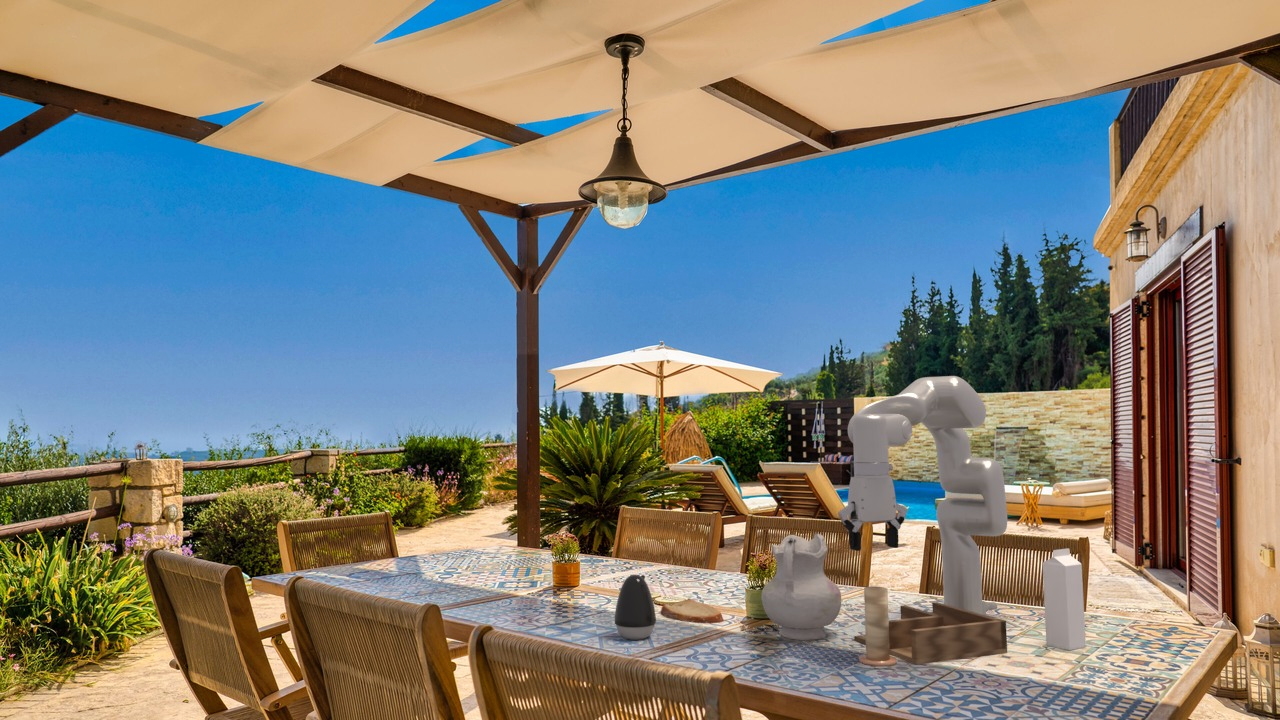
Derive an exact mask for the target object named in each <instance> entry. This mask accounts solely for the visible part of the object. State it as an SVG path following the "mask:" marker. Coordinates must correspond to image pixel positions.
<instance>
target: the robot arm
mask: <svg viewBox="0 0 1280 720" xmlns="http://www.w3.org/2000/svg"><path fill="white" fill-rule="evenodd" d="M985 405H986V404H985V403H984V401H983V398H982V397H981V396H980V395H979V394H978V393H977V391H975V389H974V388H973V387H972V386H971V384H970V383H968V382H967V381H966V380H965V379H963V378H962V377H959V376H956V375H949V376H948V375H947V376H946V375H945V376H927V377H926V376H925V377H920V378H918V379H916V380H914V381H913V382H911V383H910V384H909V385H908V386H907V387H906V388H904V389H903V390H901V392H900V393H898V394H896V395H893V396H890V397H886V398H884V399H881V400H877V401H875V402H872V403H869V404H866V405H865V406H863V407H862V408H860V409H858V410H857V412H855V413H854V414H853V416H852V417H851V418H850V420H849V422H848V425H847V435H848V438H849V440H850V442H851V443H852V444H853V472H854V473H853V474H854V475H853V476H851V477H850V481H849V486H848V496H847V506H845V507H843V508H842V509H841V510H839V511H838V512H837V515H838V517H839V519H840V521H841V524H842V526H843V527H844V528H845V529H846V531H847V532H848V541H849V542H848V543H849V549H850V550H851V551H852V550H853V551H857V552H858V551H859V552H860V551H861V550H862V543H861V542H862V541H861V539H862V537H861V533H860V531H859V530H860V529H861V527H862V525H863V524H867V523H868V524H869V523H870V524H871V523H883V522H884V523H885V524H886V525H887V526H888V527H887V528H886V546H887V547H889V548H895V549H897V548H899V530H900V529H901V525H903V523H904V522H905V518H906V515H907V513H908V508H907V507H904V506H903V505H901V504H899V503H898V502H897V500H896V491H895V485H894V482H893V478H892V476H890V471H893V469H894V466H893V465H892V464H890V456H889V448H891V447H894V448H896V447H901V446H904V445H906V444H908V442H909V441H910V440H911V437H912V435H913V427H914V426H917V425H920V424H922V425H923V426H924V427H925V428H926V429H927V431H929V433H930V434H931V436H932V438H933V439H934V443H935V448H936V459H937V469H938V478H939V484H940V486H941V488H942V490H943V491H945V492H947V493H951V494H959V495H961V494H965V495H981V496H982V498H973V497H949V498H944V499H943V500H942V501H940V502H939V503H938V505H937V508H936V520H937V524H938V529H939V530H938V531H939V534H940V535H939V536H940V543H941V557H942V559H941V560H942V562H941V563H942V583H943V584H942V585H943V587H942V589H943V604H946V605H949V606H953V607H957V608H960V609H964V610H967V611H971V612H975V613H978V614H982V615H986V616H989V617H990V615H989V614H988V613H987V612H988V611H995V610H997V609H998V604H997V603H996V602H994V601H993V602H992V601H991V602H986V601H984V600H983V591H982V587H983V586H982V569H981V567H982V566H981V565H982V564H981V551H980V549H979V547H978V544H977V543H976V542H975V540H974V539H973V538H972V536H984V537H1000V536H1002V535H1003V534H1005V532H1006V531H1007V527H1008V510H1007V497H1006V489H1005V479H1004V473H1003V469H1002V466H1001V465H1000V463H999V462H998V461H997V460H996V459H993V458H989V457H974V456H972V452H971V451H972V450H971V441H970V438H969V436H968V434H967V432H966V431H965V430H964V429H976V428H979V427H981V426H982V425H983V423H984V422H985V420H986V417H987V409H986V406H985Z"/></svg>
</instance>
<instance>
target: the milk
mask: <svg viewBox="0 0 1280 720" xmlns="http://www.w3.org/2000/svg"><path fill="white" fill-rule="evenodd" d="M1070 550H1071V549H1070V548H1068V547H1067V548H1062V549H1061V548H1060V549H1053V551H1052V557H1051V558H1049V559H1047V560H1045V561H1043V562H1042V577H1043V578H1042V580H1043V582H1042V583H1043V600H1044V622H1045V638H1046V639H1045V640H1046V641H1045V642H1046V643H1045V645H1046V646H1049V647H1052V648H1057V649H1061V650H1065V651H1074V650H1079V649H1084V648H1086V647H1087V645H1086V644H1087V643H1086V640H1087V639H1086V625H1085V621H1086V620H1085V606H1084V605H1085V604H1084V586H1083V585H1084V583H1083V567H1082V566H1083V565H1082V563H1081V562H1080V561H1078V560H1077V559H1076V558H1074V557H1073V556H1072V555H1071V553H1070Z"/></svg>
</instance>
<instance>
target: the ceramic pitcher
mask: <svg viewBox="0 0 1280 720" xmlns="http://www.w3.org/2000/svg"><path fill="white" fill-rule="evenodd" d="M826 544H827V542H826V537H824V536H823V534H820V533H816V532H814V534H813V538H812V539H810V540H807V539H806V538H804V537H803V536H797V535H795V534H789V535H786V536H785V537H784V538H783V539H782V541H781V542H780V544H779V545H777V544H772V546H771V551H772V552H771V553H772V554H773V557H774V559H775V561H776V573H775V575H774V576H773V577H772V578H771V579H770V580H769V581H768V582H766V584H765V585H764V587H763V588H762V591H761V594H760V595H761V603H762V607H763V609H764V612H765V614H766V616H767V617H768V618H769V620H770V621H771V622H772V623H774V624H776V625H778V626H781V627H782V628H781V629H779V632H778V633H777V634H778V635H780V636H782V637H783V638H785V639H788V640H796V641H797V640H798V641H812V640H823V639H824V638H825V637H826V636H827V633H826V631H825V629H824V628H825V627H827V626H830V625H831V624H832V623H834V621H836V619H837V618H838V616H839V614H840V612H841V608H842V593H841V590H840V588H839V586H838V585H837V584H836V583H835V582H833V581H832V580H831V579H829V577H827V575H826V574H825V572H824V571H825V570H824V564H825V560H826V556H827V553H828V550H829V549H828V547H827V545H826Z"/></svg>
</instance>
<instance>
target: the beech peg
mask: <svg viewBox="0 0 1280 720" xmlns="http://www.w3.org/2000/svg"><path fill="white" fill-rule="evenodd" d="M863 590H864V591H863V592H864V597H863V599H864V624H865V625H864V627H865V630H864V633H865V634H864V635H865V636H866V645H865V654H866V658H867V659H868V660H872V661H888V660H890V656H891V654H890V649H889V621H890V620H889V594H888V593H889V590H888V588H887V587H884V586H876V585H875V586H871V585H870V586H865V587H863Z"/></svg>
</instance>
